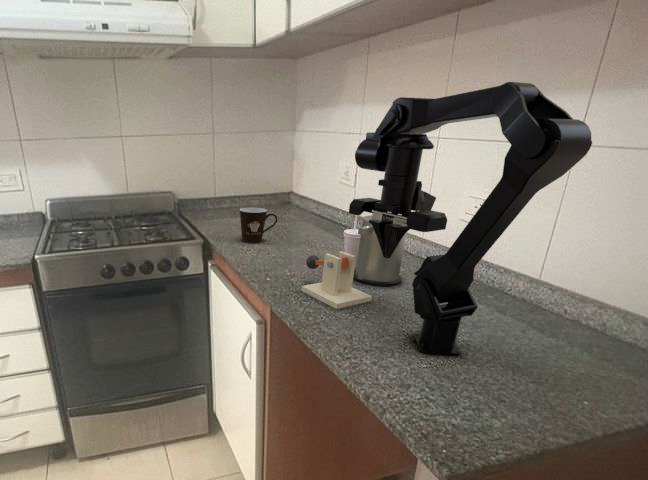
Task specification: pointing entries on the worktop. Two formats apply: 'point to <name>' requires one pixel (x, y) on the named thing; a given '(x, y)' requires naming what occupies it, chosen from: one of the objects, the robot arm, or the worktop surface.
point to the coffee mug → (253, 224)
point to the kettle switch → (315, 262)
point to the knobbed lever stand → (337, 283)
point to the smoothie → (352, 241)
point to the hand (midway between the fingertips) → (387, 257)
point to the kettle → (377, 259)
